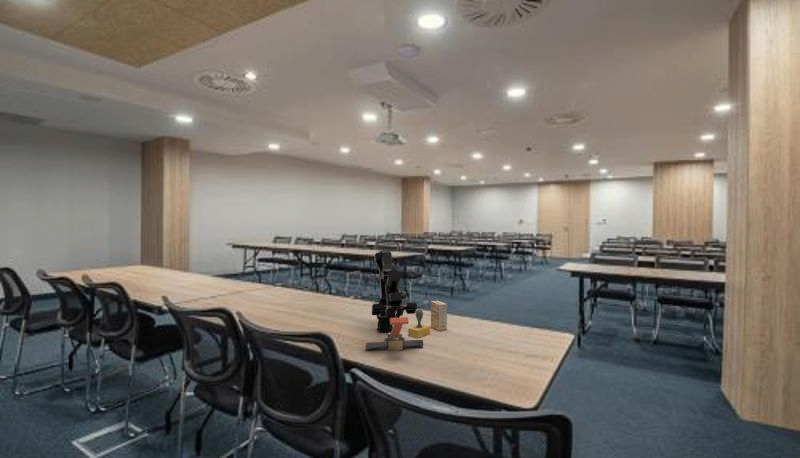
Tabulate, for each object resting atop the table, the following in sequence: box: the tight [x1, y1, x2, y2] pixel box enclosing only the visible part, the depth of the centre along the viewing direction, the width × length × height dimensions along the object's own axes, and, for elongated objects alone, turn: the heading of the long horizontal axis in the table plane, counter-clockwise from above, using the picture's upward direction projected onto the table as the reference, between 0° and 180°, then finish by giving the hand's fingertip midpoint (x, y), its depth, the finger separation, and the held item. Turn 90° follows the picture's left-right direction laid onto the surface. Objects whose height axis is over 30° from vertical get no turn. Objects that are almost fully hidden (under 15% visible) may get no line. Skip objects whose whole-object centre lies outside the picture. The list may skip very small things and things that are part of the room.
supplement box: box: [430, 300, 448, 332], centre depth 191 cm, size 8×5×13 cm, turn 25°
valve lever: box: [390, 317, 410, 338], centre depth 156 cm, size 2×7×15 cm
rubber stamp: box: [407, 309, 431, 339], centre depth 181 cm, size 10×6×12 cm, turn 140°
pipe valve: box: [364, 333, 424, 352], centre depth 161 cm, size 5×24×6 cm, turn 101°
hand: (396, 327), depth 157 cm, fingers closed, pressing on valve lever
